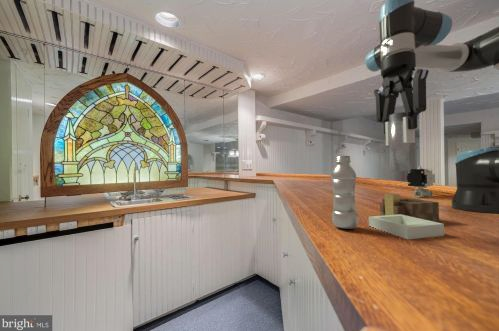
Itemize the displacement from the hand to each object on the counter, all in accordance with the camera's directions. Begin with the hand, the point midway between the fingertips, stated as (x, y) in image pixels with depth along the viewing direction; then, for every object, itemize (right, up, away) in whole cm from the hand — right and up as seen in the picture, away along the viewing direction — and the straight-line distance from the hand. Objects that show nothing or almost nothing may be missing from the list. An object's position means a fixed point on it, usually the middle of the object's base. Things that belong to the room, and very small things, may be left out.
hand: (399, 144), depth 53 cm
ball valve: (+57, -24, +59) cm, 85 cm away
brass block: (+5, -23, +10) cm, 25 cm away
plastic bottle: (-13, -23, +2) cm, 27 cm away
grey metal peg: (0, -7, 0) cm, 7 cm away
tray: (+1, -23, -1) cm, 23 cm away
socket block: (+10, -23, +11) cm, 27 cm away
